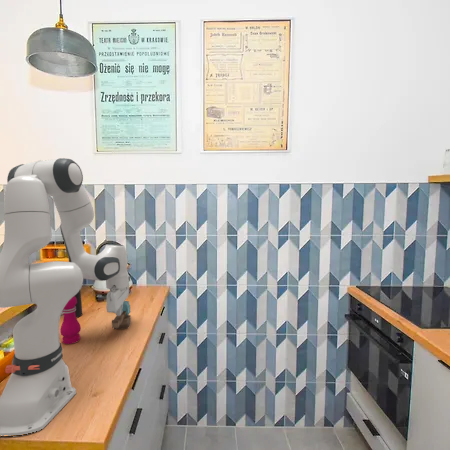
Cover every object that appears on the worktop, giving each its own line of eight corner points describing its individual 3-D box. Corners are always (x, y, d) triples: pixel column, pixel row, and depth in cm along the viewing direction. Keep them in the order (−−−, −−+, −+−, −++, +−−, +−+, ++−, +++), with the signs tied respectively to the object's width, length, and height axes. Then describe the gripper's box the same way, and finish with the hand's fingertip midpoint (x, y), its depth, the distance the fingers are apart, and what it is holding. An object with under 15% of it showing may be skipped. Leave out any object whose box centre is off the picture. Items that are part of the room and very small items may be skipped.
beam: (123, 337, 127) (122, 318, 126) (108, 337, 127) (107, 318, 126) (134, 316, 147) (133, 300, 146) (121, 317, 147) (120, 300, 146)
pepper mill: (73, 345, 121) (69, 295, 118) (56, 344, 122) (52, 294, 120) (85, 336, 128) (81, 289, 125) (69, 335, 129) (65, 288, 127)
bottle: (85, 315, 150) (82, 274, 147) (70, 320, 145) (67, 277, 142) (78, 311, 154) (75, 271, 152) (64, 316, 149) (60, 275, 147)
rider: (128, 315, 138) (127, 304, 137) (117, 315, 138) (116, 304, 137) (130, 311, 142) (129, 301, 141) (120, 312, 142) (119, 301, 141)
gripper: (118, 289, 120) (120, 324, 122) (131, 275, 140) (132, 305, 142) (101, 290, 120) (103, 325, 121) (116, 276, 140) (118, 306, 142)
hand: (119, 314), depth 132 cm, fingers closed
